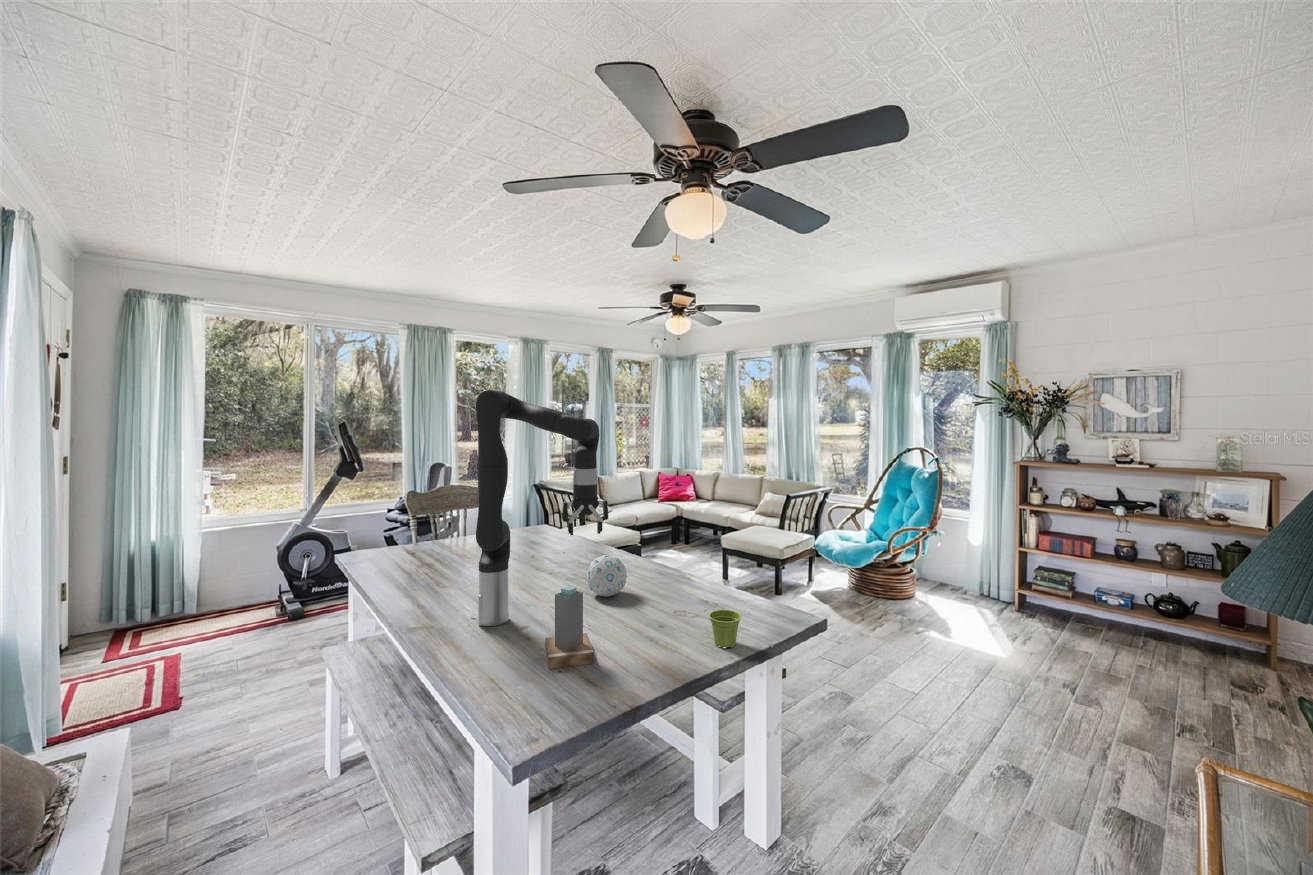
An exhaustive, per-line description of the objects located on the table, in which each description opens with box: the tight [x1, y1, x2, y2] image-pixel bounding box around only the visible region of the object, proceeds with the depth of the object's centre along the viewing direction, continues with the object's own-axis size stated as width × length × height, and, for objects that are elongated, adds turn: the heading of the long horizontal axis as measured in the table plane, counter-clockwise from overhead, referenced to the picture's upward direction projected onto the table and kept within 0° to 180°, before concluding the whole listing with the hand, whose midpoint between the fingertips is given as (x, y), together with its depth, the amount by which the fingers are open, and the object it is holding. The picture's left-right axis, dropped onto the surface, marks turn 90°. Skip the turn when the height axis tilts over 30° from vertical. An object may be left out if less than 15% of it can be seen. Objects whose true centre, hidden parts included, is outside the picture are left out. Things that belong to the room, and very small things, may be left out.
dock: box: [544, 632, 595, 670], centre depth 143 cm, size 12×13×3 cm
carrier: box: [554, 589, 584, 651], centre depth 143 cm, size 6×5×14 cm
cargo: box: [560, 585, 577, 597], centre depth 143 cm, size 3×3×3 cm
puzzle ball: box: [586, 554, 628, 598], centre depth 192 cm, size 15×15×15 cm
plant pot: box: [708, 609, 742, 648], centre depth 150 cm, size 9×9×9 cm
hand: (585, 534), depth 160 cm, fingers open, 8 cm apart
